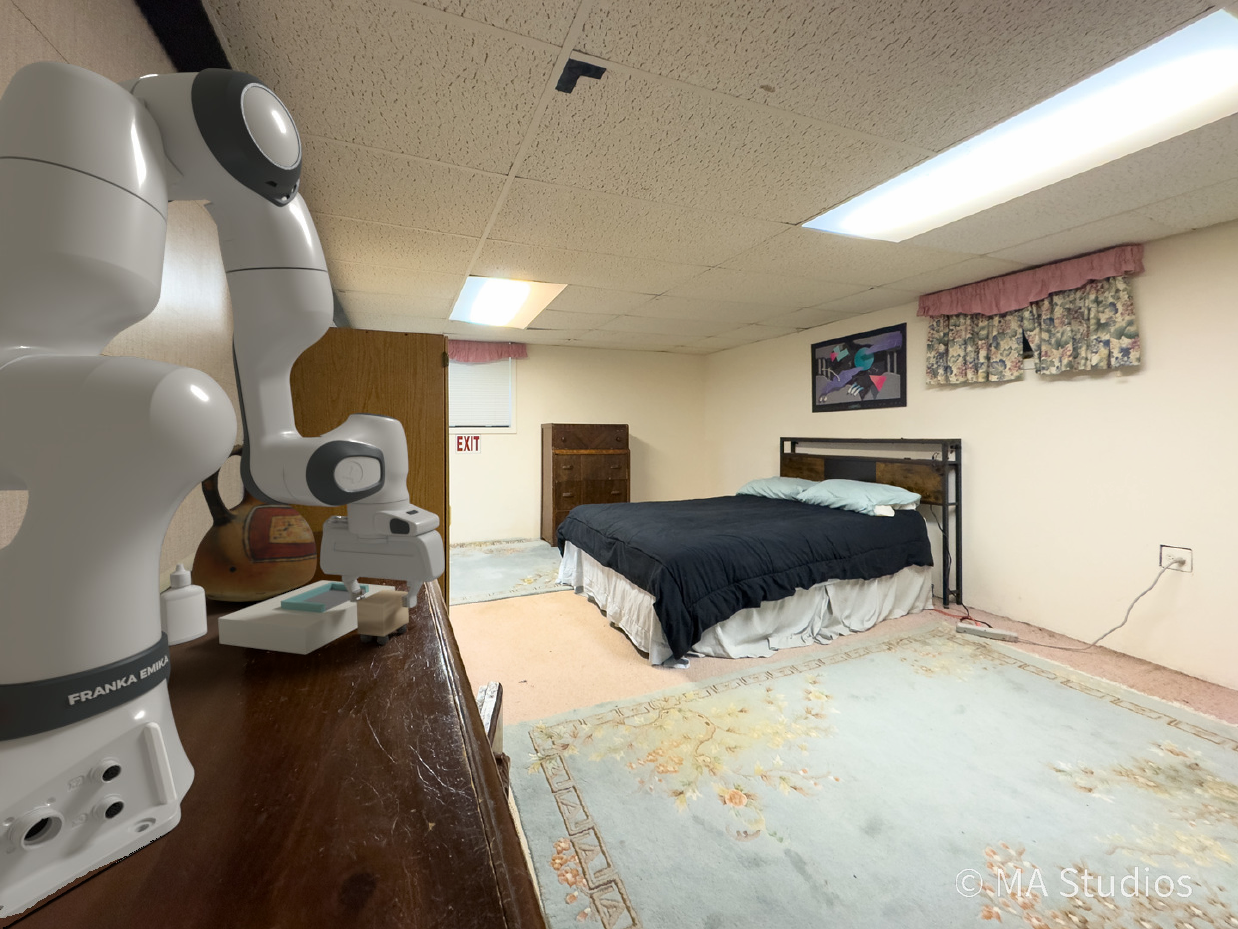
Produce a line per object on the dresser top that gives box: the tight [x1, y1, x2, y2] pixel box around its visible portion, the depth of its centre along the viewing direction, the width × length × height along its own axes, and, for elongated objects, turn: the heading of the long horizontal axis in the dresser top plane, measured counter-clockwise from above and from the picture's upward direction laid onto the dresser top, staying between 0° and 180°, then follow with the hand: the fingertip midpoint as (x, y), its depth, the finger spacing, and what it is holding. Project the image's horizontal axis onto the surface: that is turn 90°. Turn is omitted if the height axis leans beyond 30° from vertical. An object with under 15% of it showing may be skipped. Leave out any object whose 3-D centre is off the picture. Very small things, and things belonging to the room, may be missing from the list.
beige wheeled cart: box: [357, 590, 410, 645], centre depth 81 cm, size 6×5×7 cm
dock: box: [217, 580, 396, 655], centre depth 87 cm, size 20×16×5 cm
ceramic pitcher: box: [191, 443, 318, 603], centre depth 101 cm, size 20×20×30 cm
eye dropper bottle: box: [160, 563, 208, 647], centre depth 80 cm, size 4×6×12 cm
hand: (383, 604), depth 82 cm, fingers open, 8 cm apart
